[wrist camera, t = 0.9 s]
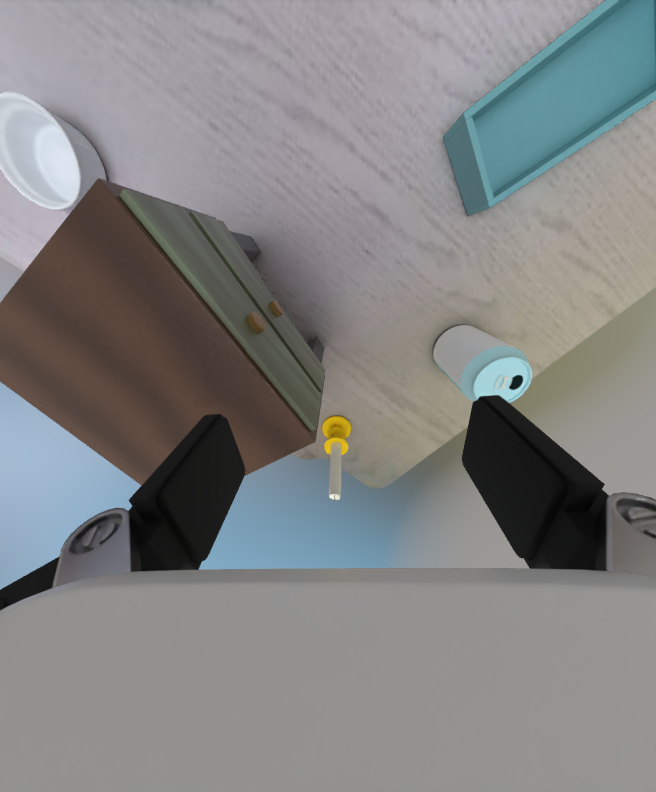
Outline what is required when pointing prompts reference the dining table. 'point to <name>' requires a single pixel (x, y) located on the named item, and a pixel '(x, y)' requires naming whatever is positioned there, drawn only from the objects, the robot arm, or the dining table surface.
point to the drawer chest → (157, 335)
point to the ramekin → (45, 154)
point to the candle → (336, 450)
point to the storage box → (556, 102)
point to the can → (482, 364)
